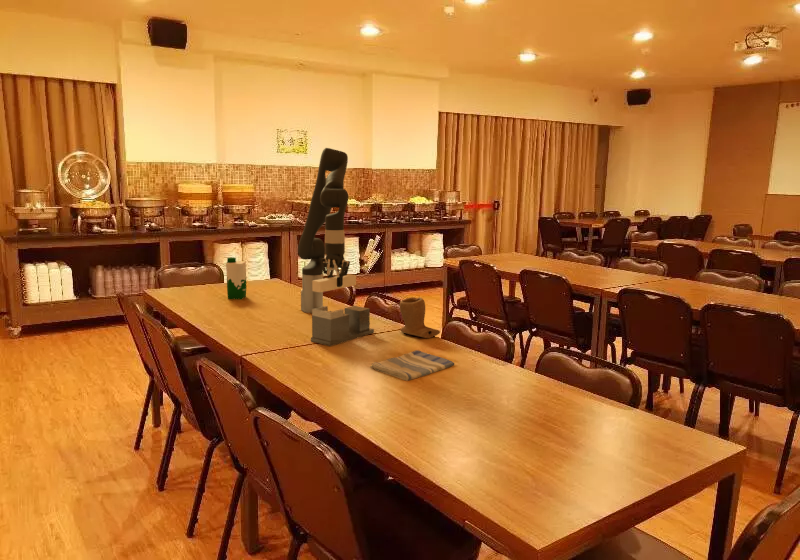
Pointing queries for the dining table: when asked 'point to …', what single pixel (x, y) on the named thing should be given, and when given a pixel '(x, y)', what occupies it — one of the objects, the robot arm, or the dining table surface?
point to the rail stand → (339, 324)
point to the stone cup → (415, 318)
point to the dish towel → (412, 365)
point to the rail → (332, 283)
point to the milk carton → (236, 278)
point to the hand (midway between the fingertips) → (335, 285)
